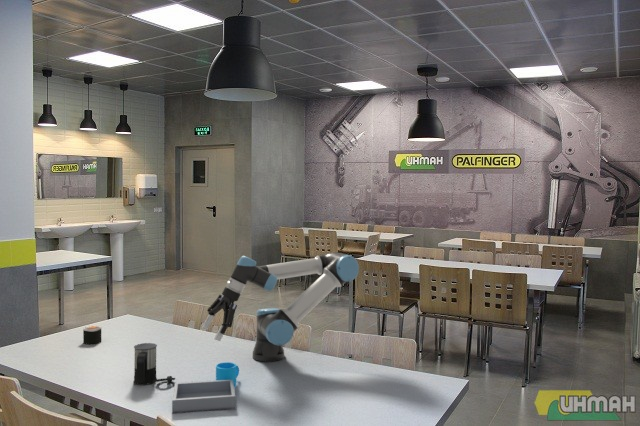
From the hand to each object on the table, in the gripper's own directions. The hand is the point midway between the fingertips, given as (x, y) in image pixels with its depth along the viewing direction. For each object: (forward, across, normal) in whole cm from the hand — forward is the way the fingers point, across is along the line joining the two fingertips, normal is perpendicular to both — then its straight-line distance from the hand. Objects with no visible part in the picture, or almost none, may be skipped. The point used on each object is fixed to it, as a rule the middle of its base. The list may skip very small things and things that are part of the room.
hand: (210, 334), depth 225 cm
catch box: (+18, +30, -7) cm, 36 cm away
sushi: (+38, -71, -18) cm, 83 cm away
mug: (+13, +18, +8) cm, 24 cm away
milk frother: (+26, 0, -14) cm, 29 cm away
